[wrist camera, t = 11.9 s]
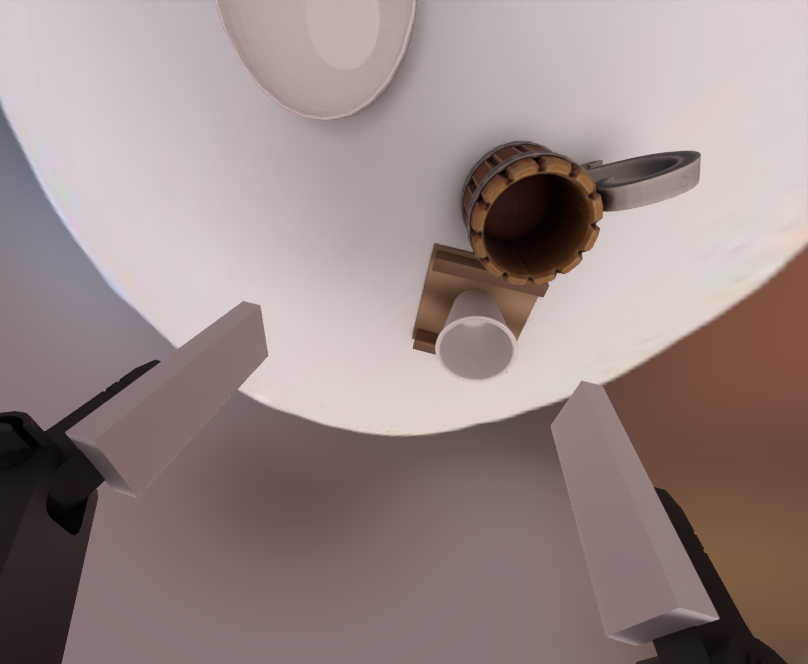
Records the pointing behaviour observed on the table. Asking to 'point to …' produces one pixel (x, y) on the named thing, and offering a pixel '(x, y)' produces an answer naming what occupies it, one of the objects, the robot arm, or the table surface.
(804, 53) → the table surface
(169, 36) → the table surface
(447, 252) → the rail stand
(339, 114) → the bowl
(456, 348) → the dixie cup
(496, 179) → the mug
